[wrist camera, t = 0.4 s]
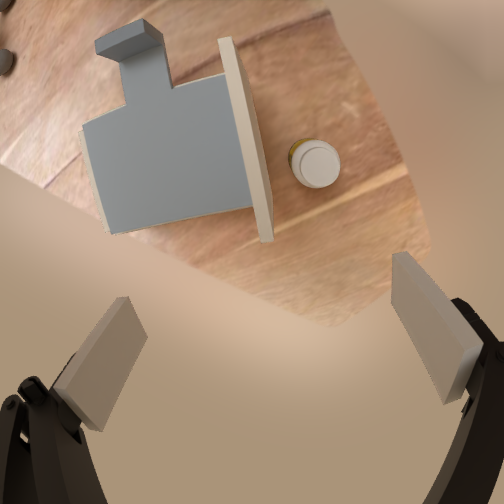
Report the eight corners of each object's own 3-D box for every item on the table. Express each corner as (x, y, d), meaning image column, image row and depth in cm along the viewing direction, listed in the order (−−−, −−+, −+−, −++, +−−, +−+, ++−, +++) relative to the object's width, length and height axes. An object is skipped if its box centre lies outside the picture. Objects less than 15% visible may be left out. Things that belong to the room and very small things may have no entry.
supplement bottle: (280, 150, 36) (283, 156, 27) (316, 131, 34) (331, 130, 25) (300, 185, 37) (310, 203, 28) (335, 167, 36) (356, 178, 27)
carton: (117, 124, 35) (-1, 135, 15) (252, 84, 32) (228, 24, 12) (140, 214, 40) (46, 289, 20) (273, 186, 38) (276, 253, 18)
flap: (77, 72, 23) (49, 67, 18) (219, 17, 21) (208, -4, 16) (114, 232, 31) (90, 250, 26) (259, 201, 28) (256, 216, 24)
